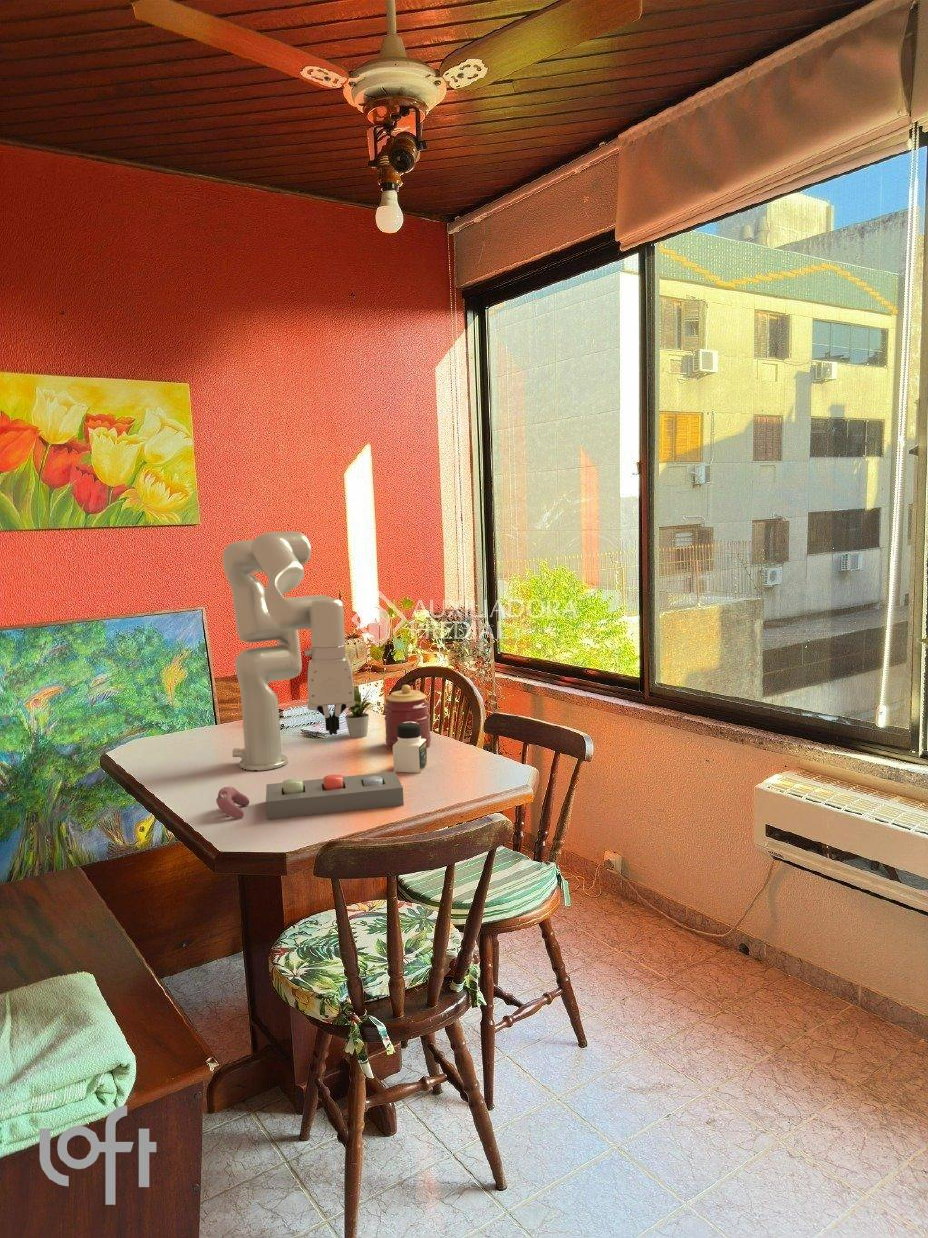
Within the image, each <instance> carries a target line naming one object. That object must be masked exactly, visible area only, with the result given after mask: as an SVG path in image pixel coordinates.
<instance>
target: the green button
mask: <svg viewBox="0 0 928 1238" xmlns="http://www.w3.org/2000/svg"><path fill="white" fill-rule="evenodd" d="M303 781H304V780H303V779H302V778H289V779H285V780H284V781H282V783H283V791H284V794H294V793H304V792H303Z"/></svg>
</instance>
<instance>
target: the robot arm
mask: <svg viewBox="0 0 928 1238" xmlns="http://www.w3.org/2000/svg"><path fill="white" fill-rule="evenodd" d="M311 546H312V545H311V542H310V540H309V539H308V537H307V536H306V534H304V533H303V532H300V531H295V530H293V531H292V530H291V531H273V532H272V531H269V532H264V533H261V534H259V535H257V536H256V537H254V539H249V540H239V541H235V542H231V543H229V544H227V545H226V546H225V548H224V549H223V553H222V566H223V570H224V574H225V577H226V579H227V581H228V584H229V587H230V589H231V590H230V591H231V594H232V600H233V602H232V603H233V607H234V608H233V610H234V617H235V624H236V625H235V626H236V631H237V635H238V639H240V641H241V642H243V643H247V644H249V643H250V644H252V643H253V644H255V643H263V642H273V641H277V642H278V644H277V645H270V646H268V645H266V646H257V647H251V648H248V649H244V650H242V651H240V652H239V653H238V654H237V656H236V657H235V661H234V667H235V672H236V677H237V682H238V687H239V691H240V700H241V703H240V704H241V713H242V728H243V731H242V732H243V743H244V744H243V745H244V748H239V747H238V748H233V749H232V757H233V758H241V760H240V761H239V767H240V769H242V768H243V769H242V770H245V769H246V771H254V770H257V771H267V770H273V768H274V769H277V768H282V767H283V766H286V764H287V763H288V761H289V758H288V756H287V755H285V754H282V740H281V739H282V738H281V737H282V736H281V727H280V726H281V724H280V723H281V722H280V710H279V709H280V707H279V699H278V698H279V697H278V696H277V694H276V692H275V691H274V690H273V689H272V688H271V687H270V686H269V683H273V682H279V681H286V680H291V679H295V678H297V677H298V676H299V675H300V673H301V672H302V667H303V663H302V651H301V650H302V649H301V643H300V642H301V641H300V634H299V630H308V629H309V631H310V647H309V648H308V649H305V650H304V654H305V657H310V658H311V659H309V661H308V666H307V667H308V668H307V699H308V700H307V701H308V702H307V705H306V708H307V710H308V711H315V712H319V713H320V714H321V715H322V716H324V719H325V720H324V721H325V731H326V732H328V733H329V736H333V735H338V730H340V717H341V714H343V712H344V711H345V710H346V709H349V707H352V706H355V701H354V686H355V685H354V676H353V669H352V665H351V664H352V663H351V660H350V658H349V657H346V655H347V652H346V651H347V650H346V638H345V634H346V632H345V619H344V617H345V614H344V612H345V611H344V604H343V601H342V600H341V599H340V598H335V597H330V596H328V595H325V594H318V595H305V596H304V595H303V596H294V597H293V596H292V597H285V596H284V595H286V594H287V593H289V592H291V591H293V590H295V589H296V588H297V587H298V586H299V585H300V584H301V583H302V581H303V578H304V576H305V569H304V567H303V565H305V564H306V563H307V562H309V560H310V558H311V556H312V547H311ZM254 573H264V575H265V576H266V578H267V579H268V581H267V584H266V586H264V584H263V583H262V582H261V581H260V579H259V578H258V577H257V576H256V575H255V574H254ZM329 706H333V712H332V714H331V712H330V710H329ZM282 765H283V766H282Z"/></svg>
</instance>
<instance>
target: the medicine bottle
mask: <svg viewBox="0 0 928 1238" xmlns="http://www.w3.org/2000/svg"><path fill="white" fill-rule="evenodd" d="M397 737H398V741H397V742H396V743H395V744H394V745H393V750H392V758H393V759H392V760H393V772H395V773H416V774H417V773H418V774H420V773H422V771H423V770H424V769H425V768H426V767H427V766H428V758H427V757H428V756H427V754H428V753H427V752H428V751H427V747H426V739H421V725H420V724H419V723H416V722H403V723H401V724H399V725H398V726H397Z"/></svg>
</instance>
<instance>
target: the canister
mask: <svg viewBox="0 0 928 1238" xmlns="http://www.w3.org/2000/svg"><path fill="white" fill-rule="evenodd" d="M426 698H427V695H426V693H423V692H422V691H420V690H416V689H411V686H410V685H409V684H404V685H402V686H401V689H400V690H396V691H393V692H391V694H389V695H388V696H386V700H387V702H386V703H385V704H384V706H383V708H384V709H385V716H384V717H383V718H384V721H385V722H384V723H385V726H384V727H385V744H386V748H388V749H389V750H392V751H393V745H394V744H395V743H396V742H397V741H398V737H397V726H398V725H399V724H401V723H403V722H416V723H419V724H420V725H421V739H426V748H428V747H429V746H431V742H432V734H431V719H430V718H431V714H430V713H429V707H430V705H431V704H430V702H429V701H427V700H426Z"/></svg>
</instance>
